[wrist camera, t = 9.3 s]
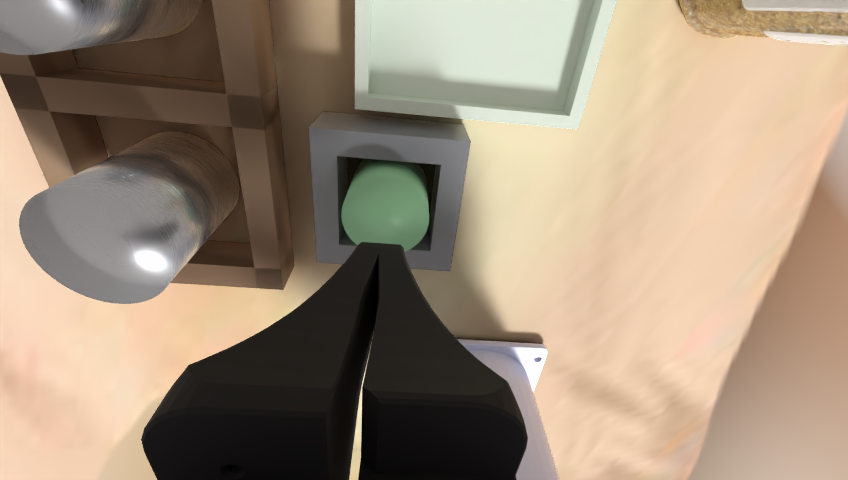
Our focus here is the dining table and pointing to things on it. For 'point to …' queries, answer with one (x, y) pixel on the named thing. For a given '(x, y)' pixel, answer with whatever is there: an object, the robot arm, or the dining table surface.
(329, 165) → the grey square frame
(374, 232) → the button
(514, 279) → the dining table surface
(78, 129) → the pallet
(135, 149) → the seated billet
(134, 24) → the cylinder
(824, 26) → the sprinkles bottle
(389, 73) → the pale green square tray
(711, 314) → the dining table surface
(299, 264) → the dining table surface
